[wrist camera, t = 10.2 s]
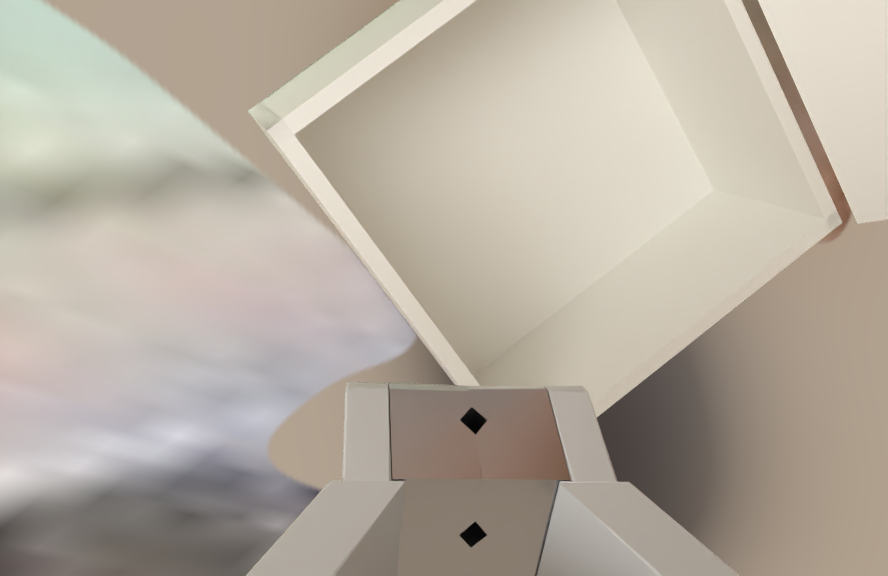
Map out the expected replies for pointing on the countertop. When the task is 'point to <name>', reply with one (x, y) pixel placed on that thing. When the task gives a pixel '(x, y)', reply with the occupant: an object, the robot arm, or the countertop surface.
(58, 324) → the countertop surface
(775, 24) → the mailer lid
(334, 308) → the countertop surface
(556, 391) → the robot arm
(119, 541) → the countertop surface
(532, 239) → the box
